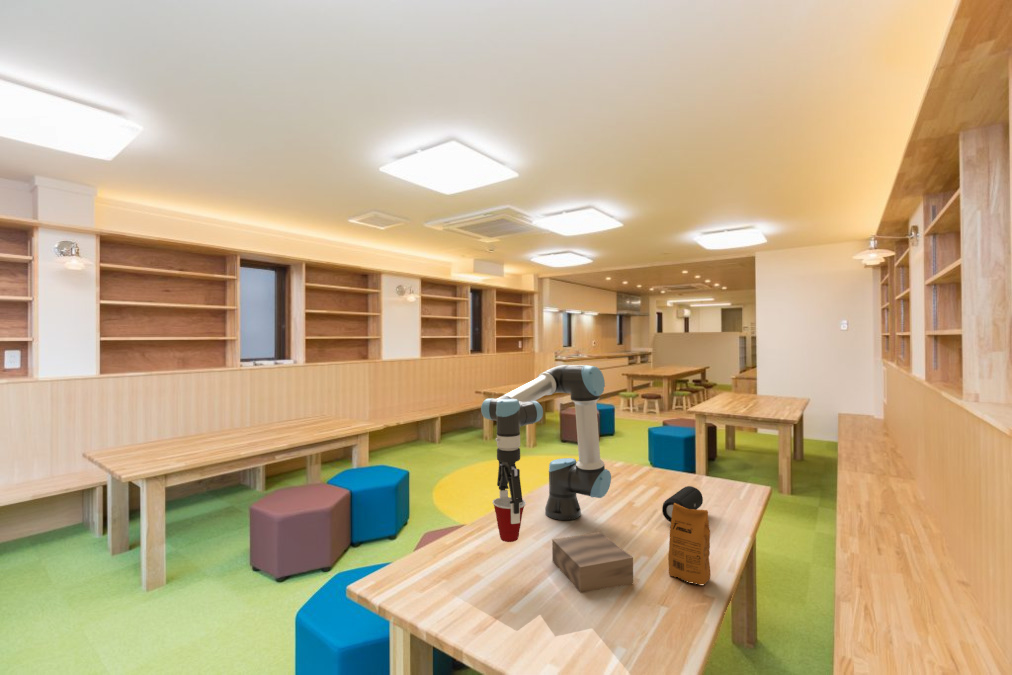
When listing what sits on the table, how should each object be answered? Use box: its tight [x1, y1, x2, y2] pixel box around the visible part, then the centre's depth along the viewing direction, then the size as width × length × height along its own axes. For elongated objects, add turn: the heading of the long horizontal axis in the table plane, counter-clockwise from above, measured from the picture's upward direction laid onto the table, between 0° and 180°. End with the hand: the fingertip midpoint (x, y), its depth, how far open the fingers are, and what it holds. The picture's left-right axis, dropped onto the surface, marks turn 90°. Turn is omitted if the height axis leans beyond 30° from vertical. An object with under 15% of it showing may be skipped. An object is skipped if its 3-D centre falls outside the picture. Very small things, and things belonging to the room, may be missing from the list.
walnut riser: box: [551, 531, 634, 593], centre depth 146 cm, size 20×18×8 cm
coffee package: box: [667, 503, 711, 585], centre depth 144 cm, size 10×12×22 cm
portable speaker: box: [661, 485, 704, 523], centre depth 194 cm, size 26×10×10 cm, turn 140°
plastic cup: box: [492, 496, 527, 543], centre depth 146 cm, size 11×11×12 cm
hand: (509, 516), depth 146 cm, fingers closed on plastic cup, 11 cm apart
